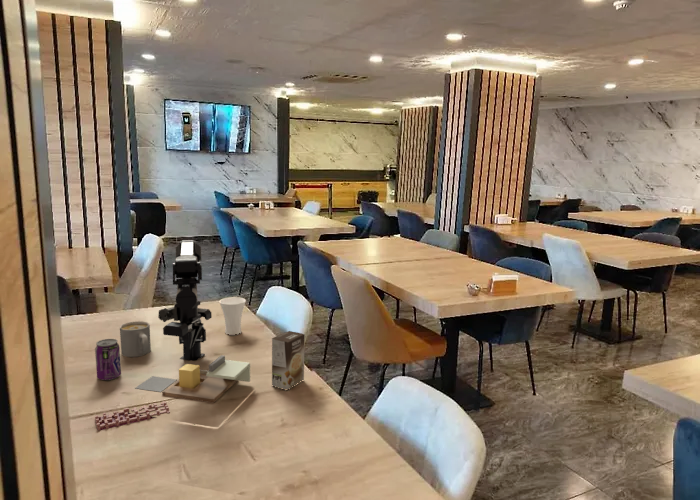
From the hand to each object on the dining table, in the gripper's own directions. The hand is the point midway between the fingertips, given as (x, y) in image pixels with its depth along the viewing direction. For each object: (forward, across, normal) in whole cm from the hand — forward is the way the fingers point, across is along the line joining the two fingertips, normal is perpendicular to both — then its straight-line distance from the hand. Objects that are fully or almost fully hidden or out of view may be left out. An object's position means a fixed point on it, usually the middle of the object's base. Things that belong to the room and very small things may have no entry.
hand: (189, 348), depth 160 cm
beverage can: (+13, +1, -29) cm, 32 cm away
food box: (+13, -10, +28) cm, 33 cm away
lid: (+11, 0, +13) cm, 17 cm away
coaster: (+13, +2, -11) cm, 17 cm away
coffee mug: (+13, -20, -32) cm, 40 cm away
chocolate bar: (+14, +20, -6) cm, 25 cm away
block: (+12, 0, 0) cm, 12 cm away
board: (+13, 0, +4) cm, 13 cm away
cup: (+13, -49, -9) cm, 52 cm away
